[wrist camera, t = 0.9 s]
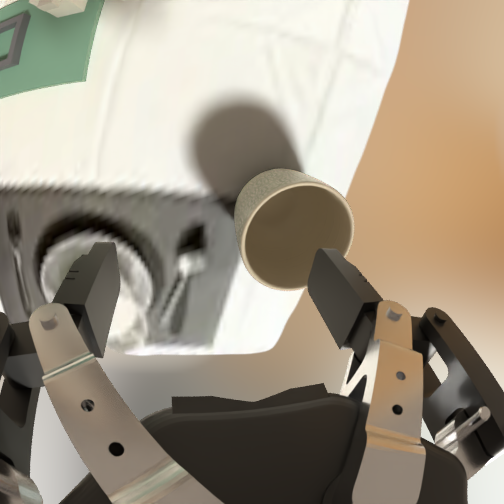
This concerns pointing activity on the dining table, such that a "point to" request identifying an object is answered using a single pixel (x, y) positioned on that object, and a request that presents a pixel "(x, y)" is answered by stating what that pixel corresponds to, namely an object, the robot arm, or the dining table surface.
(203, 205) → the dining table surface
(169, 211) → the dining table surface
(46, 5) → the plug
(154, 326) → the dining table surface
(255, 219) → the planter
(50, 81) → the board
